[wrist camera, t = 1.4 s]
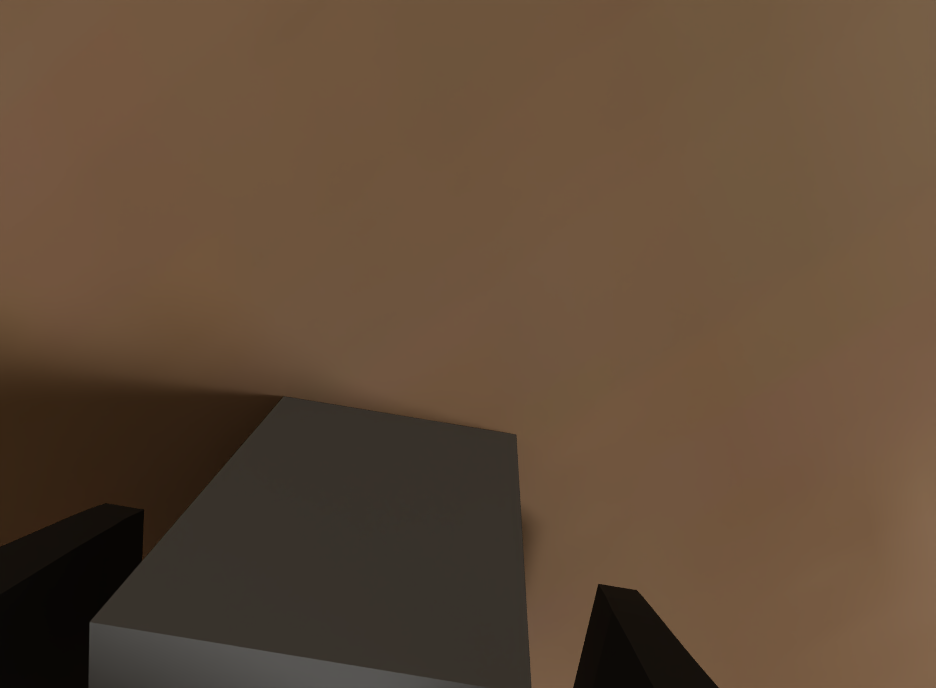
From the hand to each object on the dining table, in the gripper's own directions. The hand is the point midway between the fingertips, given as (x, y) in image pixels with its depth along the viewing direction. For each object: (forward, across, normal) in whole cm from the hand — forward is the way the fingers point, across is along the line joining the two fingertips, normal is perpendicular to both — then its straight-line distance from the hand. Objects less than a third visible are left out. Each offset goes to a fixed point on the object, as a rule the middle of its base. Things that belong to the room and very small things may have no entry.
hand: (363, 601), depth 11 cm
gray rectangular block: (+2, 0, 0) cm, 2 cm away
